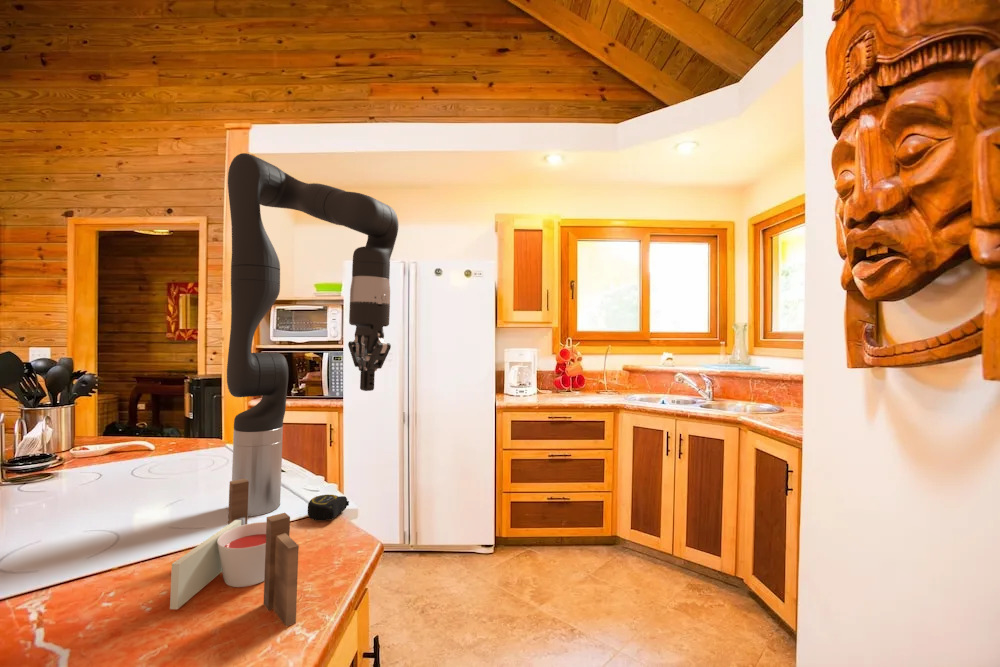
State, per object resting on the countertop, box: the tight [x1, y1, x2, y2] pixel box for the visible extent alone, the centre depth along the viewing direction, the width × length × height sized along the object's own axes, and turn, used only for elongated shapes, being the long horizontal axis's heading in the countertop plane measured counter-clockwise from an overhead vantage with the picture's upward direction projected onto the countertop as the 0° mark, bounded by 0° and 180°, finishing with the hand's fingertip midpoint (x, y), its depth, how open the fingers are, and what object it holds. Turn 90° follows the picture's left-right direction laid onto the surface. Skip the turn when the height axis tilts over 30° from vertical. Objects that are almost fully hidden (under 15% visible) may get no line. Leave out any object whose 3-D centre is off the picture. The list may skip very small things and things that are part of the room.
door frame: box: [227, 479, 300, 627], centre depth 65 cm, size 26×2×12 cm, turn 45°
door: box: [169, 518, 245, 610], centre depth 65 cm, size 15×3×6 cm, turn 0°
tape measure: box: [307, 494, 350, 522], centre depth 89 cm, size 7×7×4 cm
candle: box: [217, 521, 267, 588], centre depth 67 cm, size 9×9×6 cm
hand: (367, 390), depth 84 cm, fingers closed
